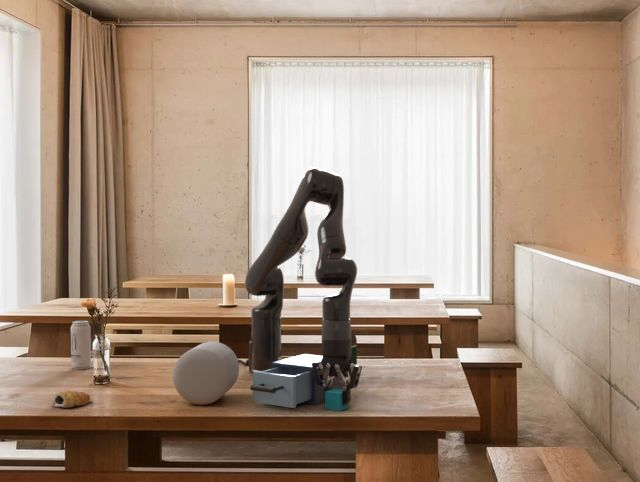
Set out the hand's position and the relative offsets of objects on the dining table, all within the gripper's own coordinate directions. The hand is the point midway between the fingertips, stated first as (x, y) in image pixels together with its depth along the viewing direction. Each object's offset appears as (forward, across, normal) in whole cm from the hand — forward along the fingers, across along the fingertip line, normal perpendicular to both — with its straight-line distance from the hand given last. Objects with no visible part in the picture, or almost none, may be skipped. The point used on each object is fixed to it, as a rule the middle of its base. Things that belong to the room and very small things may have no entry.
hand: (336, 403), depth 210 cm
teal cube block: (+1, 0, 0) cm, 1 cm away
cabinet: (+1, +14, -8) cm, 16 cm away
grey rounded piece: (+1, +38, +7) cm, 38 cm away
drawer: (0, +14, +4) cm, 14 cm away
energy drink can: (0, +98, -4) cm, 98 cm away
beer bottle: (+1, +15, -30) cm, 34 cm away
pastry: (+1, +60, +33) cm, 69 cm away
